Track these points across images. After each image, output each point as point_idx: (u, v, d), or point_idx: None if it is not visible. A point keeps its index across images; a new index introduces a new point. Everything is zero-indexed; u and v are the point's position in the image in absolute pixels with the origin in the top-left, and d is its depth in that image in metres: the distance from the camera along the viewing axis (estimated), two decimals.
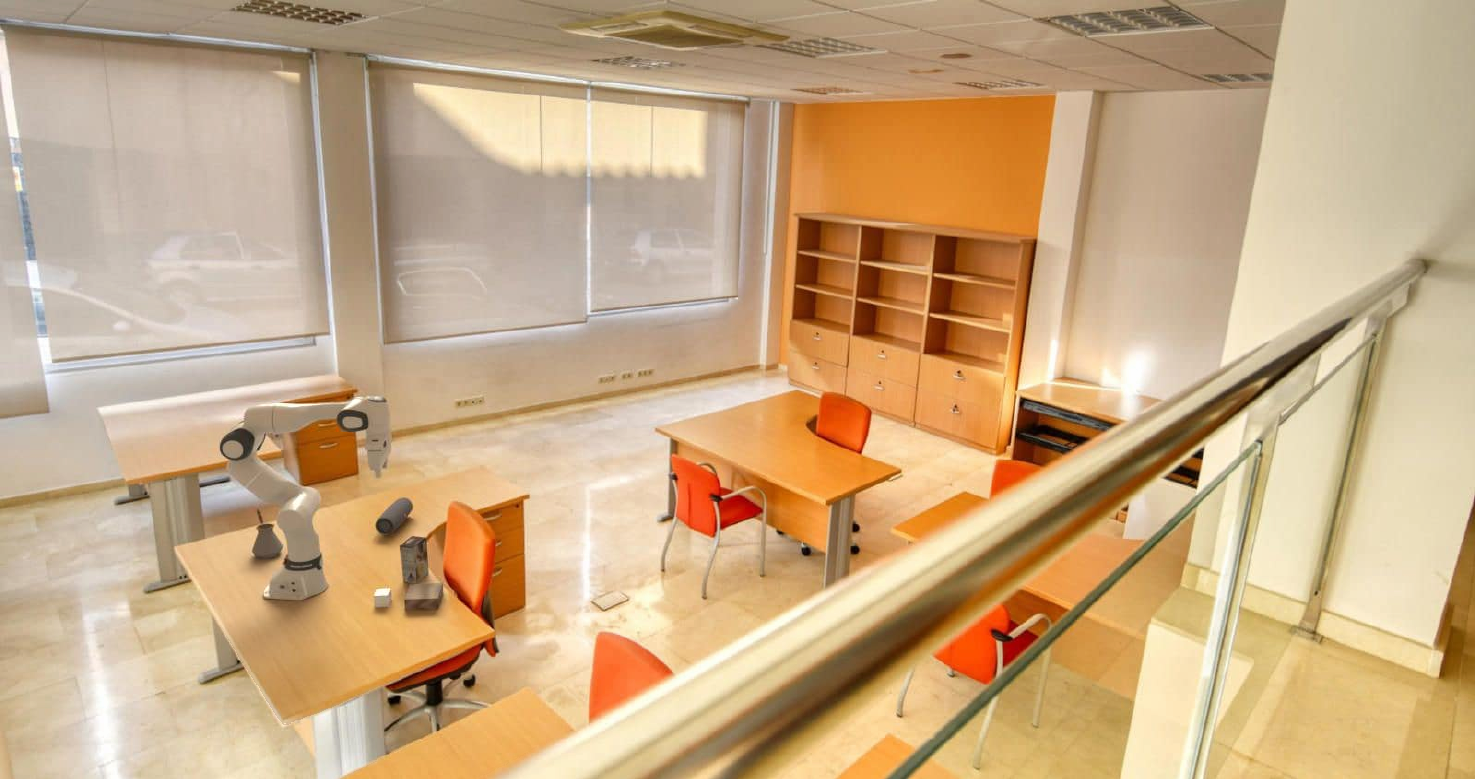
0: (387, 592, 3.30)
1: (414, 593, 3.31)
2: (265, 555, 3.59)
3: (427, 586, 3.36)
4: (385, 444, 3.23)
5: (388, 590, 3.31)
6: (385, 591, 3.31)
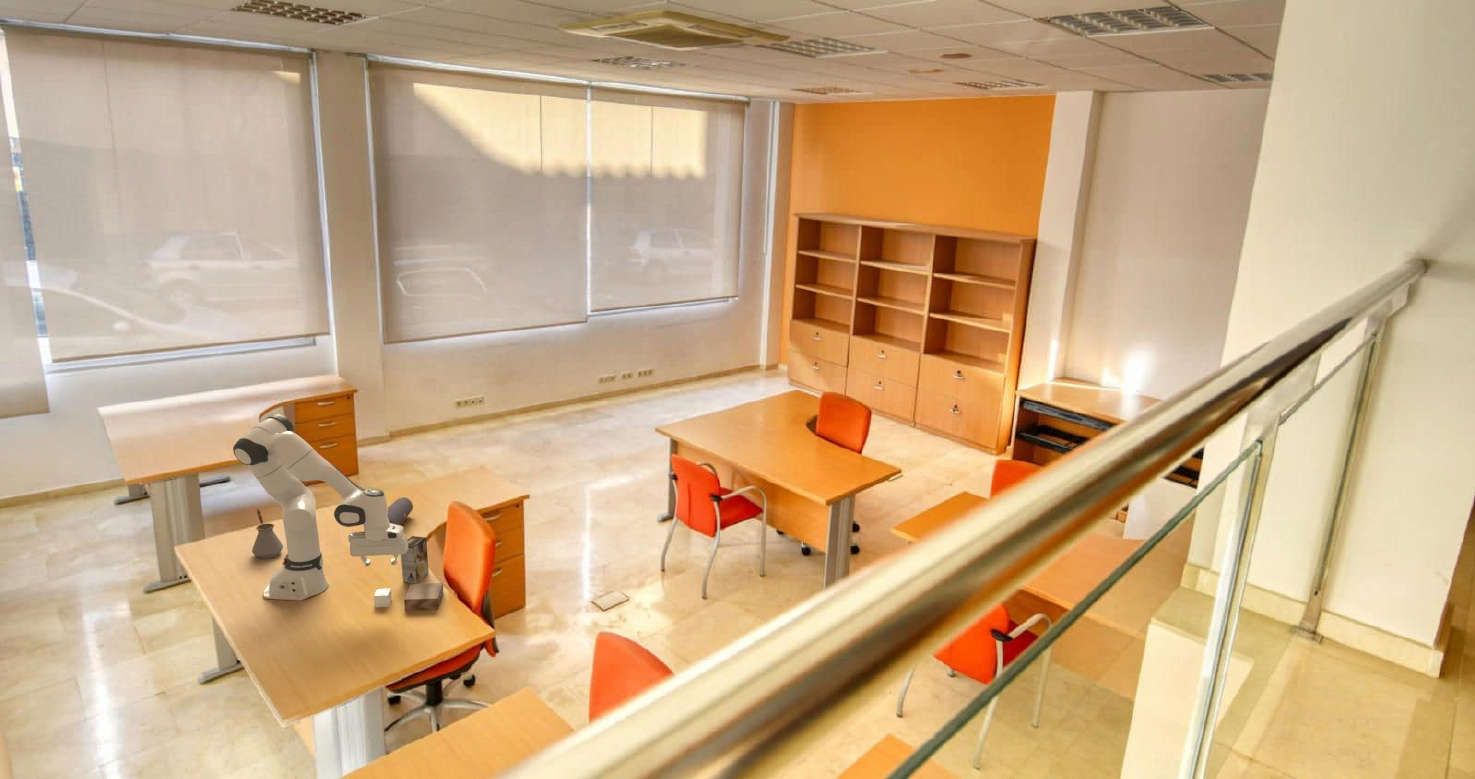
0: (387, 592, 3.30)
1: (414, 593, 3.31)
2: (265, 555, 3.59)
3: (427, 586, 3.36)
4: None
5: (388, 590, 3.31)
6: (385, 591, 3.31)
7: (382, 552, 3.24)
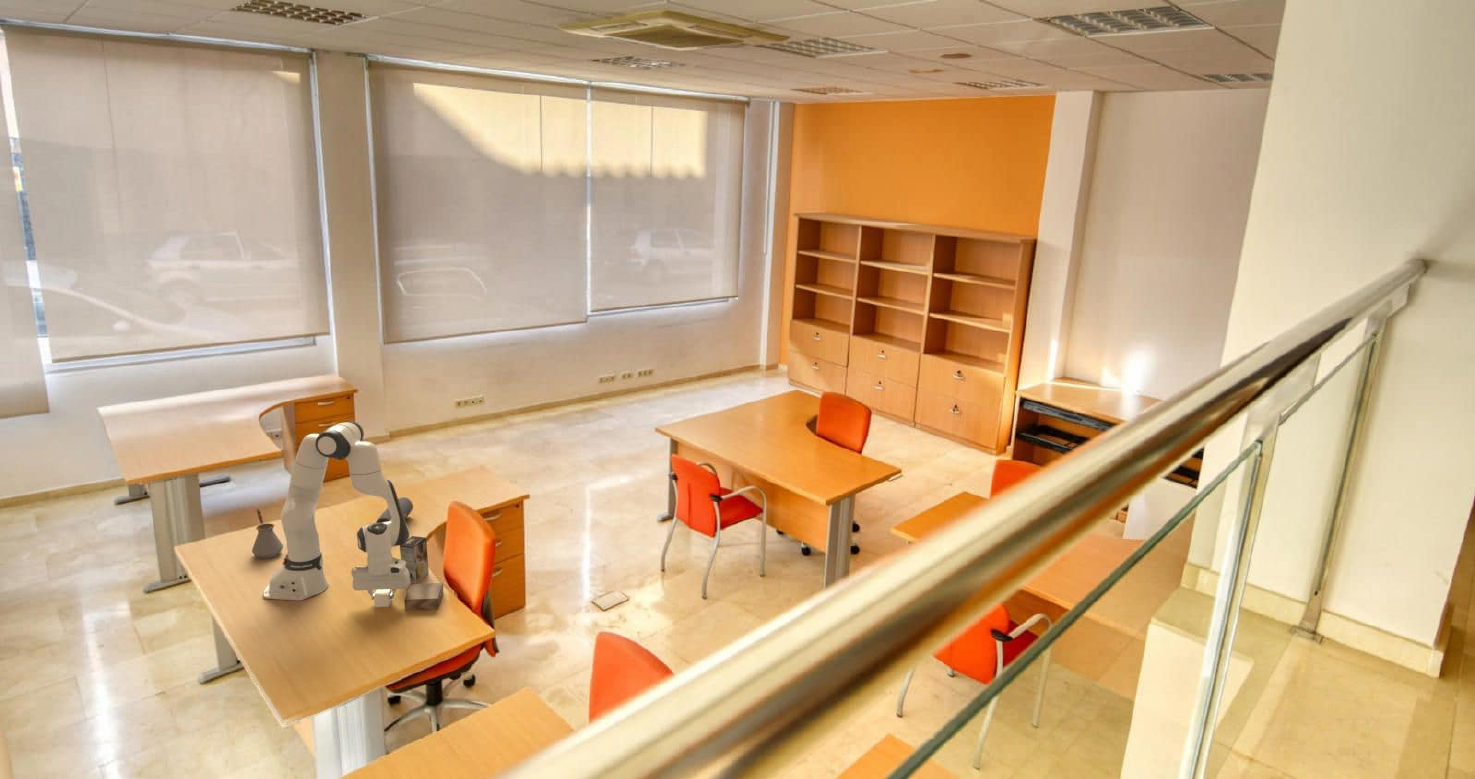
0: (387, 592, 3.30)
1: (414, 593, 3.31)
2: (265, 555, 3.59)
3: (427, 586, 3.36)
4: None
5: (388, 590, 3.31)
6: (385, 591, 3.31)
7: (384, 586, 3.28)
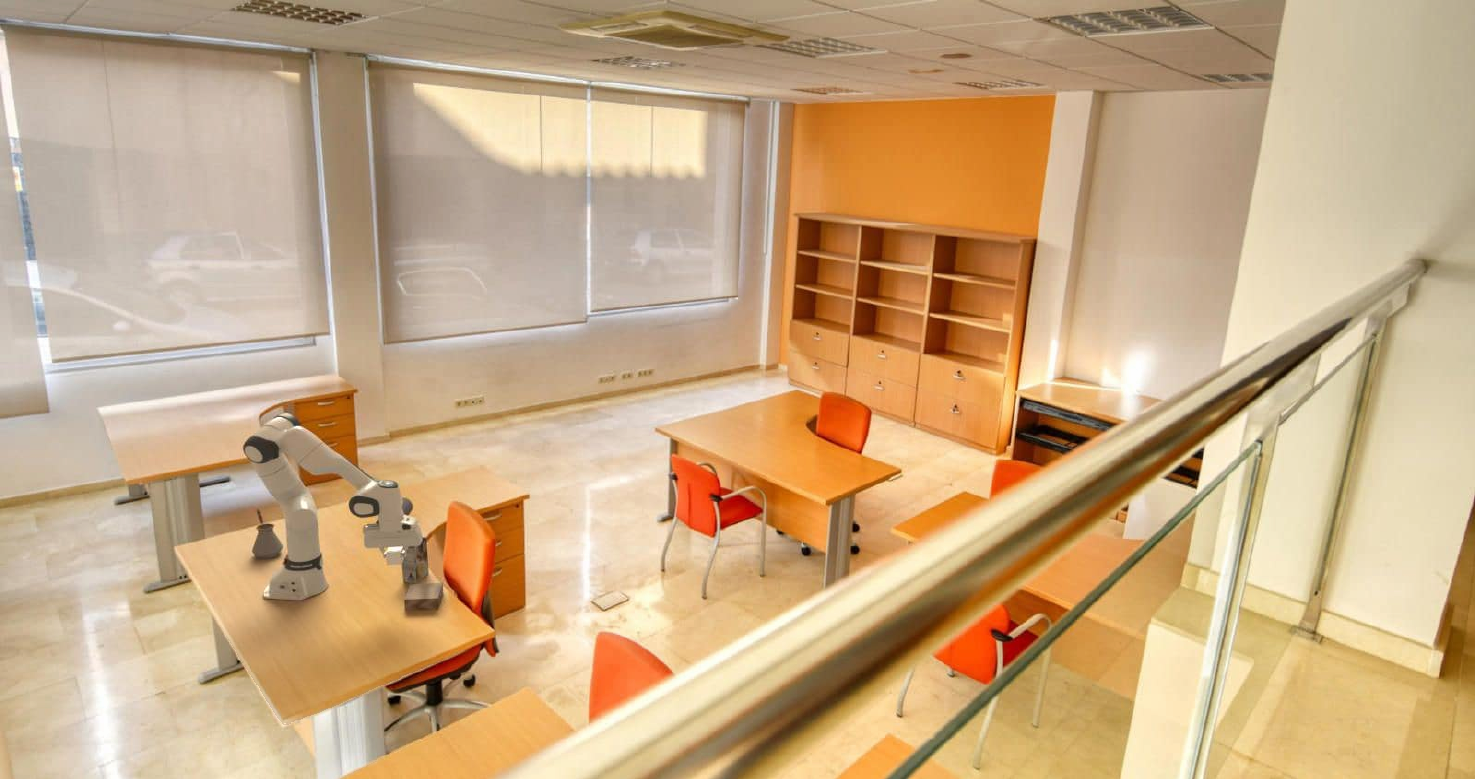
0: (399, 549, 3.25)
1: (414, 593, 3.31)
2: (265, 555, 3.59)
3: (427, 586, 3.36)
4: None
5: (400, 547, 3.27)
6: (397, 548, 3.26)
7: (396, 544, 3.23)
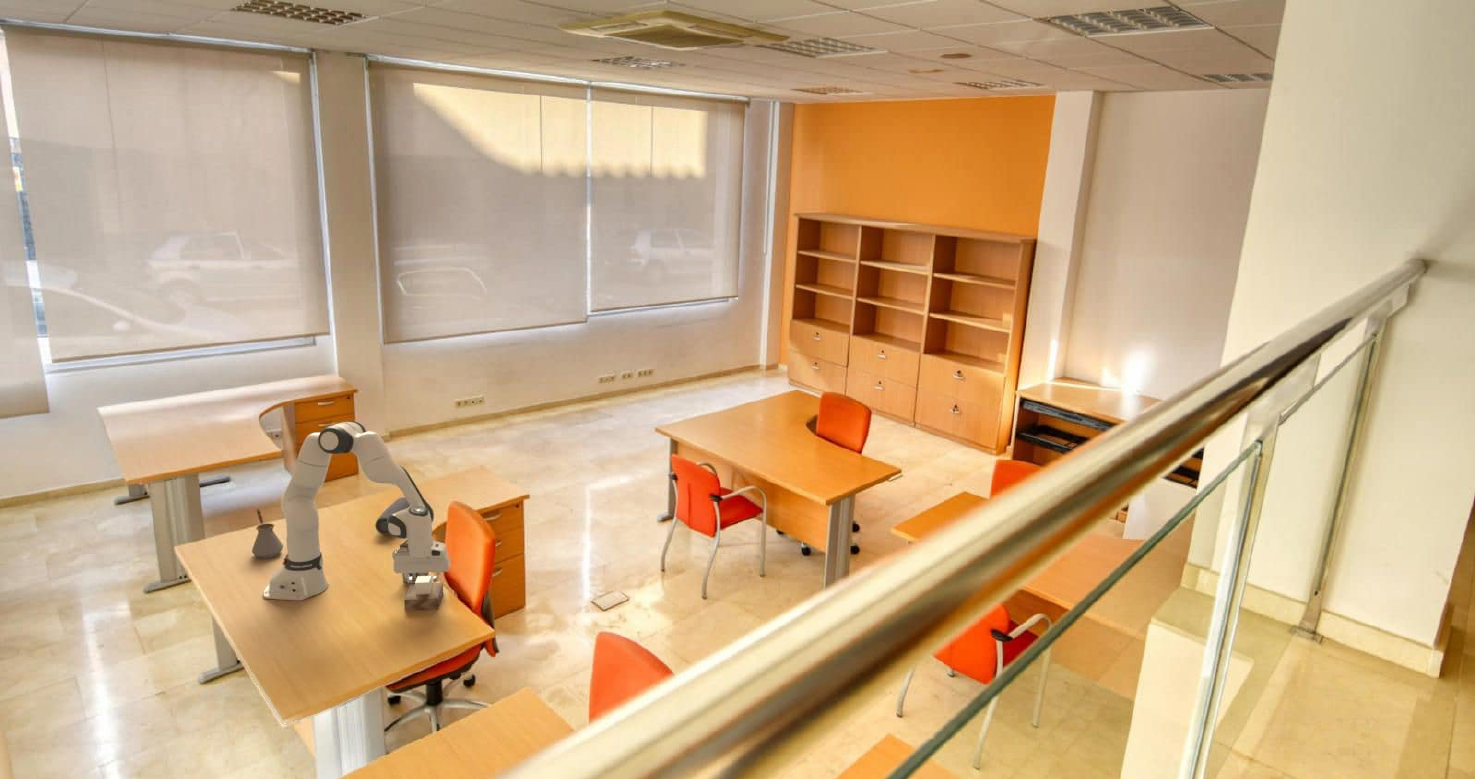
0: (428, 579, 3.31)
1: (414, 593, 3.31)
2: (265, 555, 3.59)
3: None
4: None
5: (429, 577, 3.33)
6: (426, 578, 3.32)
7: (425, 569, 3.28)
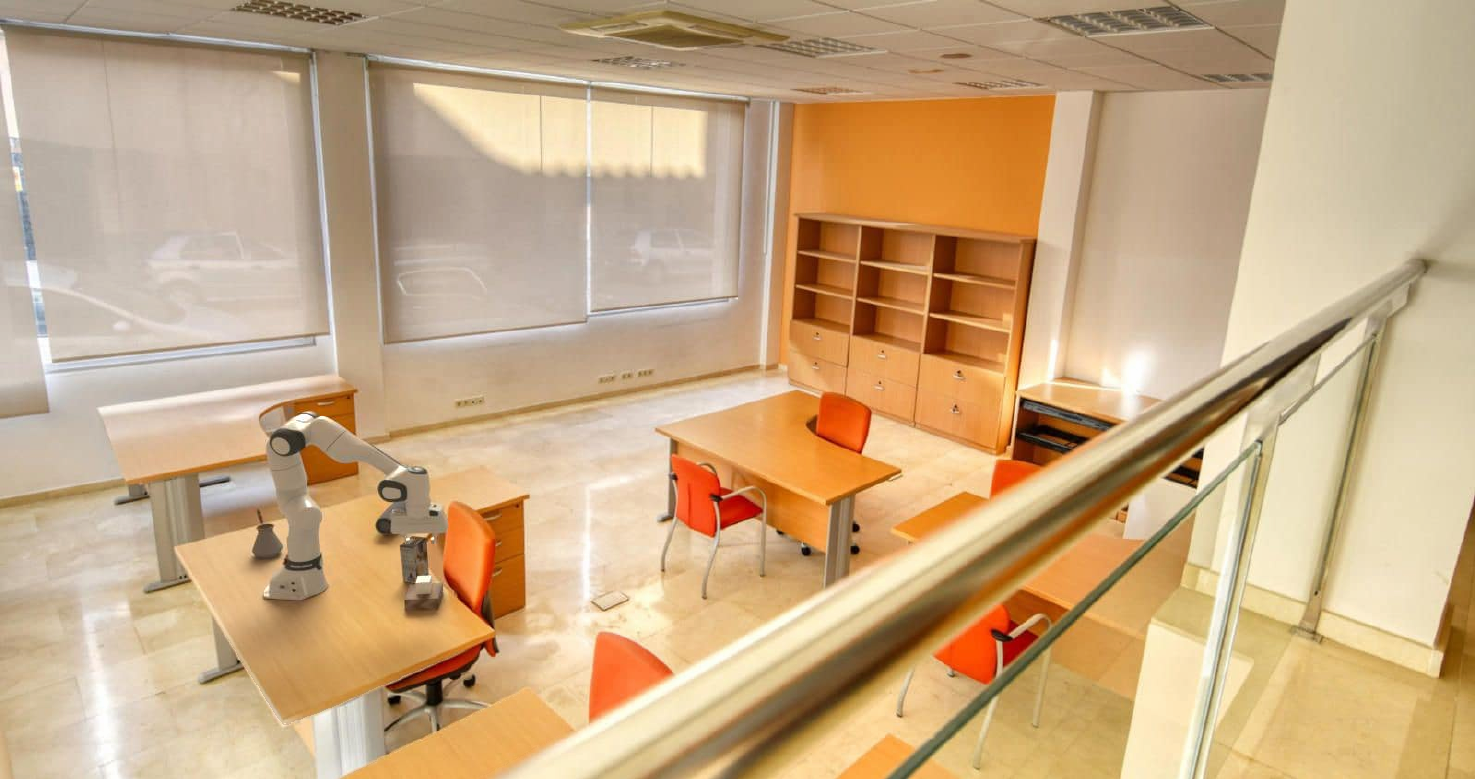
0: (428, 579, 3.31)
1: (414, 593, 3.31)
2: (265, 555, 3.59)
3: None
4: None
5: (429, 577, 3.33)
6: (426, 578, 3.32)
7: (423, 530, 3.24)
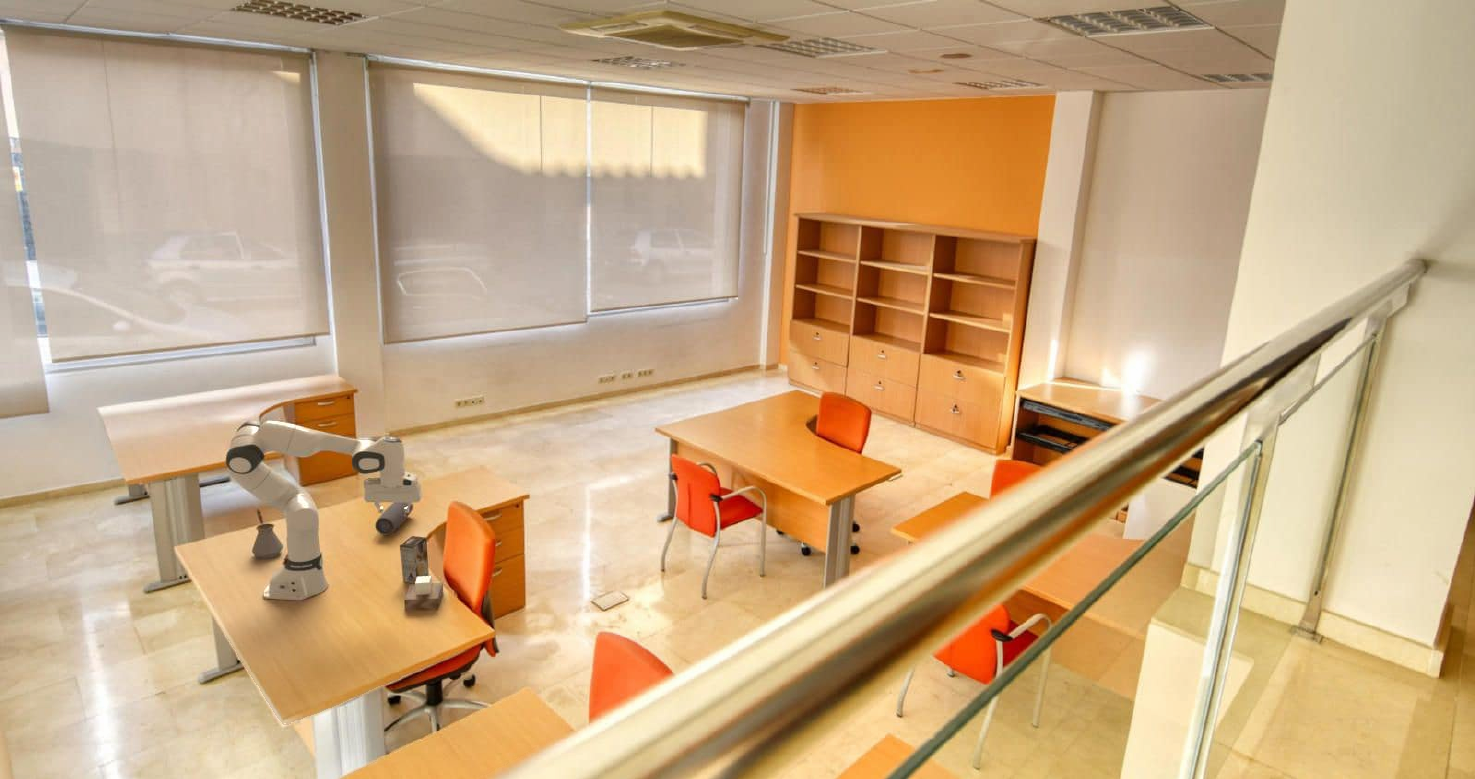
0: (428, 579, 3.31)
1: (414, 593, 3.31)
2: (265, 555, 3.59)
3: None
4: None
5: (428, 577, 3.33)
6: (426, 578, 3.32)
7: (396, 499, 3.29)
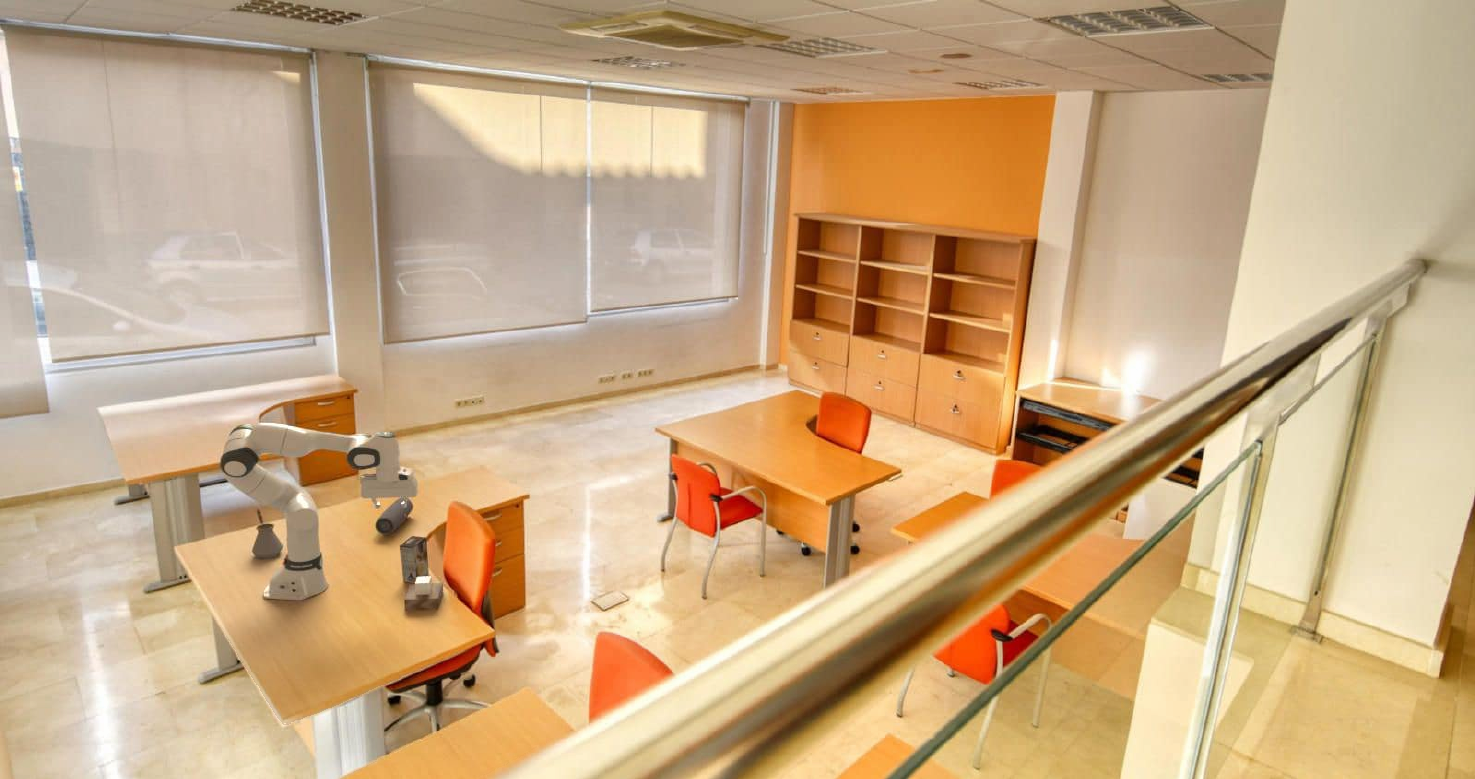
0: (428, 580, 3.31)
1: (414, 593, 3.31)
2: (265, 555, 3.59)
3: None
4: None
5: (428, 578, 3.32)
6: (426, 578, 3.32)
7: (393, 494, 3.29)
